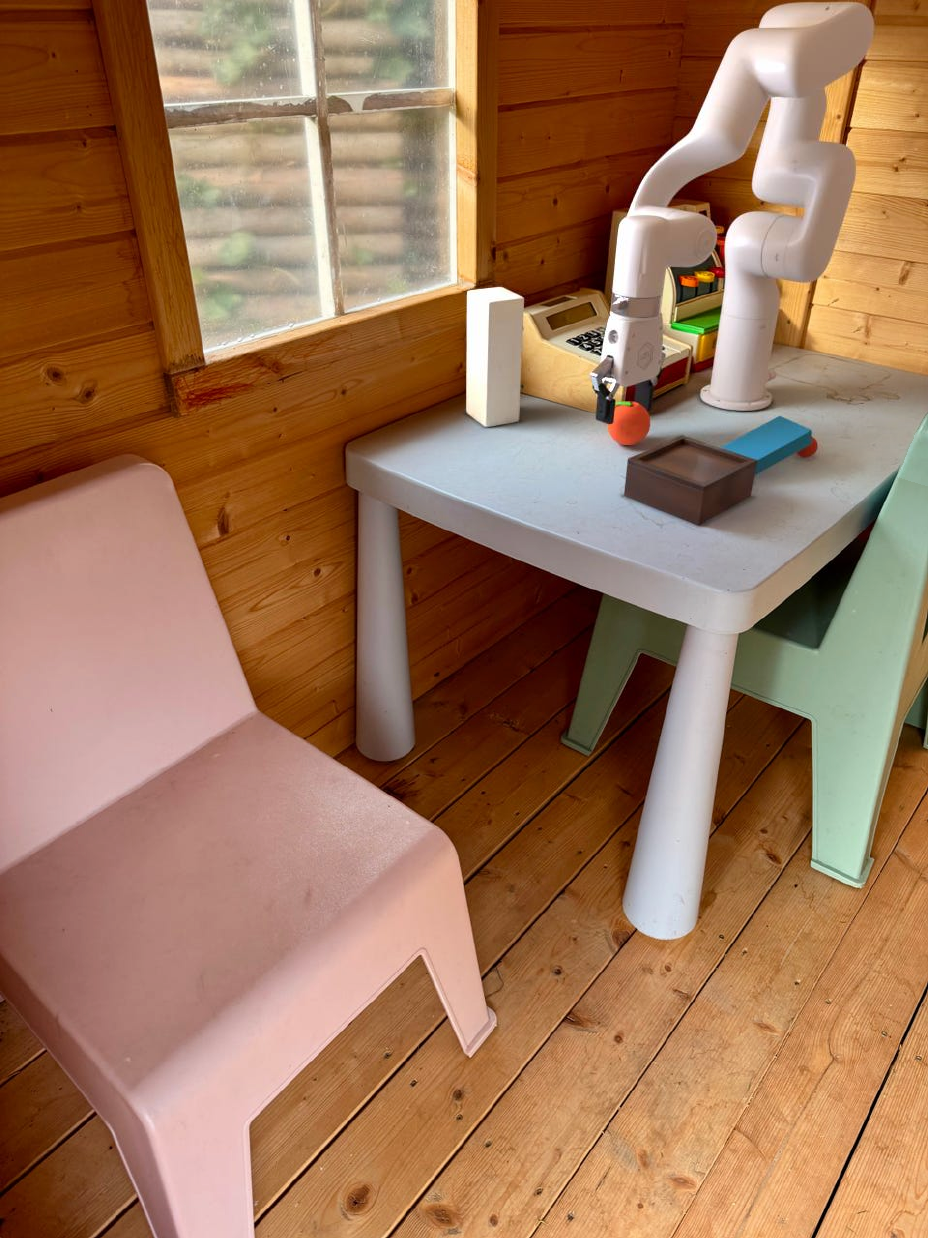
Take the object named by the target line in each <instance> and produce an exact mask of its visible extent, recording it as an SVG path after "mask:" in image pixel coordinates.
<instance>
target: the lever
mask: <svg viewBox="0 0 928 1238" xmlns="http://www.w3.org/2000/svg"><path fill="white" fill-rule="evenodd" d="M720 448H722V449H725V450H728V451H731V452H734V453H738V454H741V455H744V456H747V457H750V458H753V459H756V460H758V461H757V466H756V472H755V476H757V475H759V474H760V473H762V472H764V471H766V470H767V469H769V468H771V467H773V466H775V465H777V464H778V463H781V462H782V461H784V460H786V459H787V458H789V457H791V456H793V455H795V454H796V455H798V456H799V457H801V458H804V459H807V458H811V457H812V456H814V455H815V454H816V453H817V451H818V448H819V444H818V441H817V440H816V438H815V437H813V429H810V428H809V427H807V426H805V425H802V424H799V423H797V422H795V421H792V420H790V419H788V418H786V417H784V416H782V415H778V416H776V417H775V418H772V419H770V420H769V421H766V422H765V423H763V424H761V425H760V426H757V427H756V428H754V429H752V430H750V431H748V432H747V433H744V434H743V435H740V436H739V437H737V438H735V439H734V440H731V441H730V442H728V443H726V444H724V445H723V446H721V447H720Z"/></svg>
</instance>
